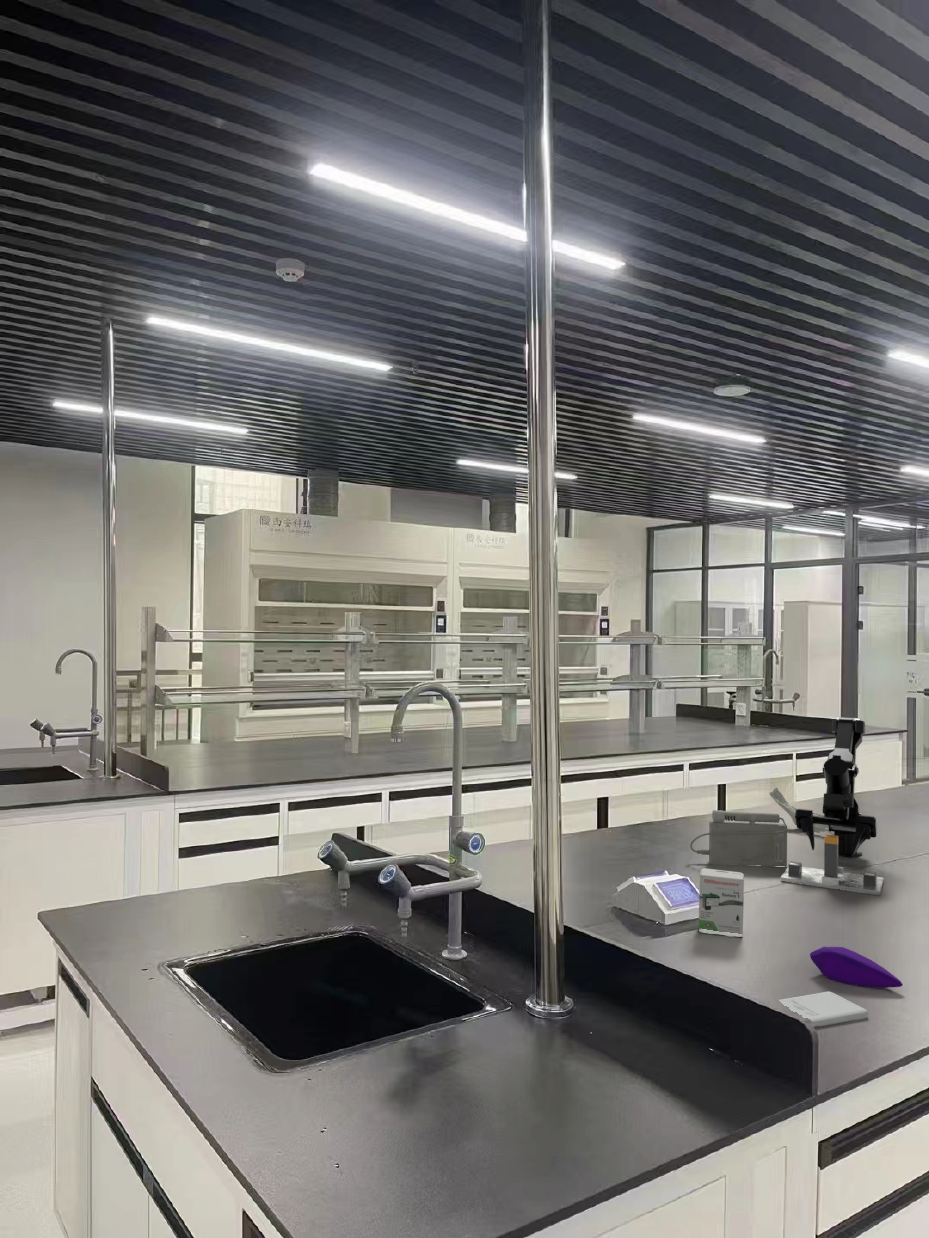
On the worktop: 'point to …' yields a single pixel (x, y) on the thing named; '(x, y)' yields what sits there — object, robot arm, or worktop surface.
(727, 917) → the ink box
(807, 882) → the breaker panel
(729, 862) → the geiger counter
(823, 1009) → the external hard drive
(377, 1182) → the worktop surface
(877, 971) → the purple teardrop shape
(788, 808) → the skeletal model
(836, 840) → the lever
